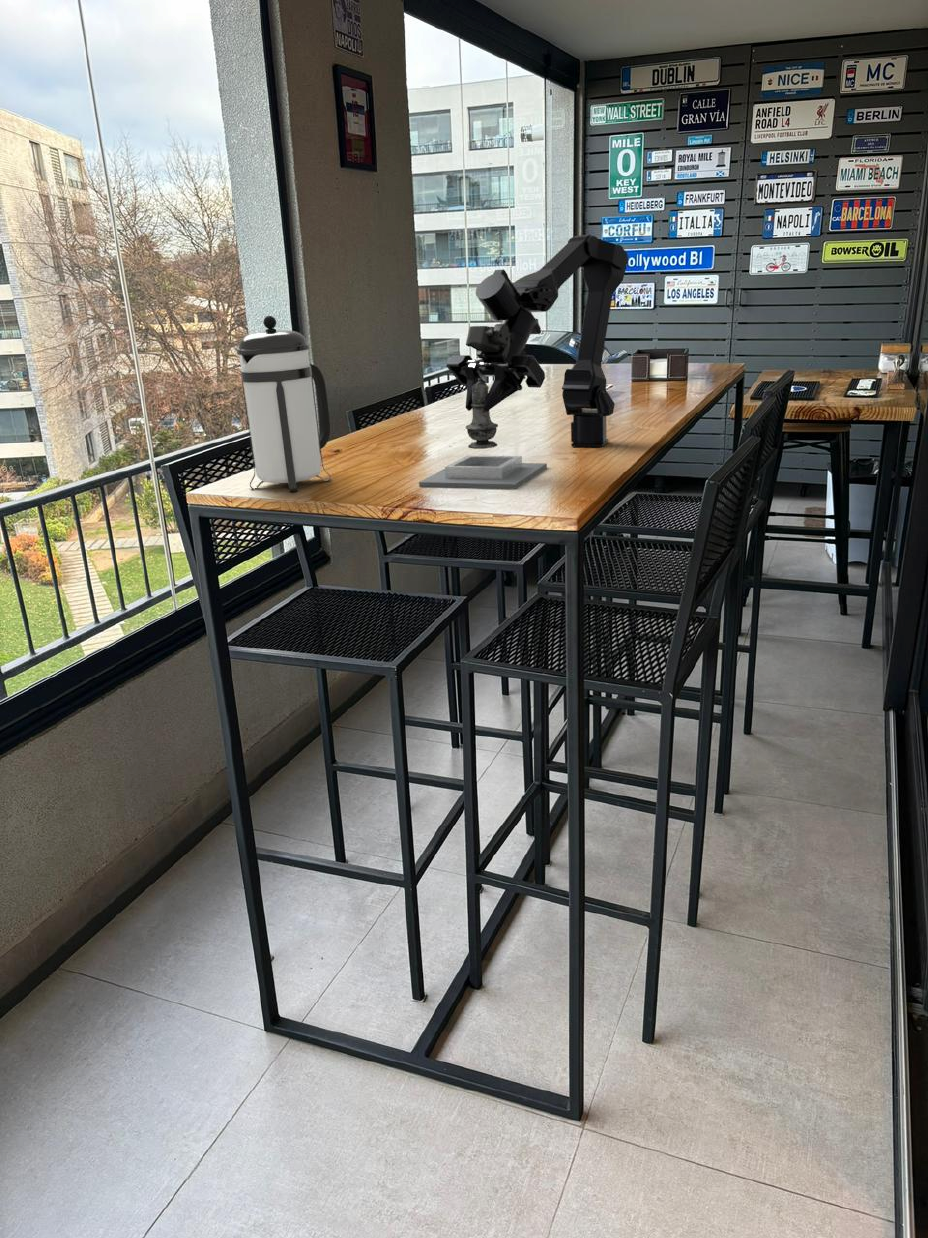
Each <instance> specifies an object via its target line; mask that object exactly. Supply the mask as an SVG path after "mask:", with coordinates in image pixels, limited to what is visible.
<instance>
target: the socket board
mask: <svg viewBox="0 0 928 1238" xmlns="http://www.w3.org/2000/svg"><path fill="white" fill-rule="evenodd" d="M547 467H548V465H547V463H546V462H545V463H542V462H541V463H540V462H537V463H535V462H522V467H521V468H520V469H518V470H517V471H515V472H513V473H512V474H510V475H509V476H507V477H505V478H504V479H461V478H445V468H444V469H441V470H439V471H438V472H436V473H434V474H432V475H430V476H428V477H426V478H424V479H422V480H420V481H418V486H419V487H421V488H422V487H425V488H427V487H428V488H429V487H431V488H458V489H459V488H464V489H466V488H467V489H495V490H497V489H499V490H500V489H502V490H505V489H506V490H516V489H517V488H519V487H521V486H522V485H524V484H525V483H526V482H528V481H530V480H531V479H532V478H534V477H535V476H537V475H538V474H540V473H541V472H543V471H544V470H546V469H547Z"/></svg>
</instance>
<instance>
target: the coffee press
mask: <svg viewBox="0 0 928 1238" xmlns="http://www.w3.org/2000/svg"><path fill="white" fill-rule="evenodd" d="M277 323H278V321H277V320H276V318H275V317H274V316H272V315H267V316H265V317H264V318H263V321H262V324H263V325H264V327H265V328H266V329H265V331H260V332H253V333H252V332H251V333H249V334H247V335H244V336H243V337H242V338H241V339H240V340H239V343H238V346H237V347H238V348H236V349H235V350H236V355H237V356H238V358H239V362H240V369H241V370H240V372H239V373H240V378H241V386H242V391H243V399H244V407H245V412H246V413H245V414H246V420H247V427H248V428H247V429H248V434H249V442H250V450H251V455H252V464H253V469H254V471H253V472H254V473H253V476H252V478H251V480H250V482H249V487H250V489H251V488H252V487H253V486H252V483H253V481H254V479H255V477H256V476H257V478H258V479H259V480H260V482H259V483H258V484H257V486H256V487H257V489H259V487H260V486H261V485H262V484H263V483H269V484H286V483H287V485H288V491H289V493H296V492H298V488H297V482H303V481H306V480H307V481H308V480H311V479H313V478H316V477H318V478H319V479H321V480H322V481H324V482H330V480H331V474H330V473H329V472H328V471H327V470H326V469H325V468H324V464H323V456H322V449H323V448H325V447H326V445H327V444H328V441H329V438H330V433H331V425H330V424H331V423H330V413H329V411H330V410H329V403H328V395H327V389H326V383H325V378H324V376H323V373H322V371H321V370H320V369H319V367H318V366H317V365H314V364H312V363H310V356H309V352H310V348H311V347H310V343H308V342H307V339H306V338H305V336H304V335H303V334H301V332H298V331H294V330H277V329H276V328H275V327H276V325H277ZM314 385H315V388H314ZM315 392H316V397H315ZM316 400H317V403H316ZM316 404H317V406H316ZM317 407H318V408H317ZM317 409H318V413H317ZM318 417H319V421H318ZM318 422H319V423H318ZM319 426H320V430H319ZM322 469H323V470H324V472H325V473H326V474H327V475H328V478H327V479H325V478H323V477H322V476H320V475H319V474H320V473H321V471H322Z"/></svg>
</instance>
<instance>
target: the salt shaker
mask: <svg viewBox="0 0 928 1238" xmlns="http://www.w3.org/2000/svg"><path fill="white" fill-rule="evenodd" d="M488 387H489V385H488V384H484V383H482V382H481V379H480V378H478V382H477V384H474V385H473V386H472V404H471V406H472V409H471V410H472V420H471V423H469V424H467V425H466V426H465V427H464V428H465V429H466V431H467V435H468V437H469V438H470V439H471V440H472V441H473V442H471V443H470V444H468V446H467V448H468V449H473V450H476V449H477V450H481V449H482V450H485V449H492V448H496V447H497V446H498V443H497V442H495V441H492V439H494V437H495V436H496V433H497V428H498V427H499V424H497V423H494V422H493V421H492V418H491V414H490V410H489V411H487V412H485V411H484V409H483V405H484V402H485V400H486V397H487V395H488V393H489V388H488Z"/></svg>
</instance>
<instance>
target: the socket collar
mask: <svg viewBox="0 0 928 1238" xmlns="http://www.w3.org/2000/svg"><path fill="white" fill-rule="evenodd" d="M522 463H523V456H522V455H465V456H464V457H462V458H460V459H457V460H455V461H454V462H452V463H450V464H448V465H446V466H444V469H445V478H461V479H504V478H505V477H507V476H509V475H510V474H512V473H513V472H515V471H517V470H518V469H520V468H521V467H522Z"/></svg>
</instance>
